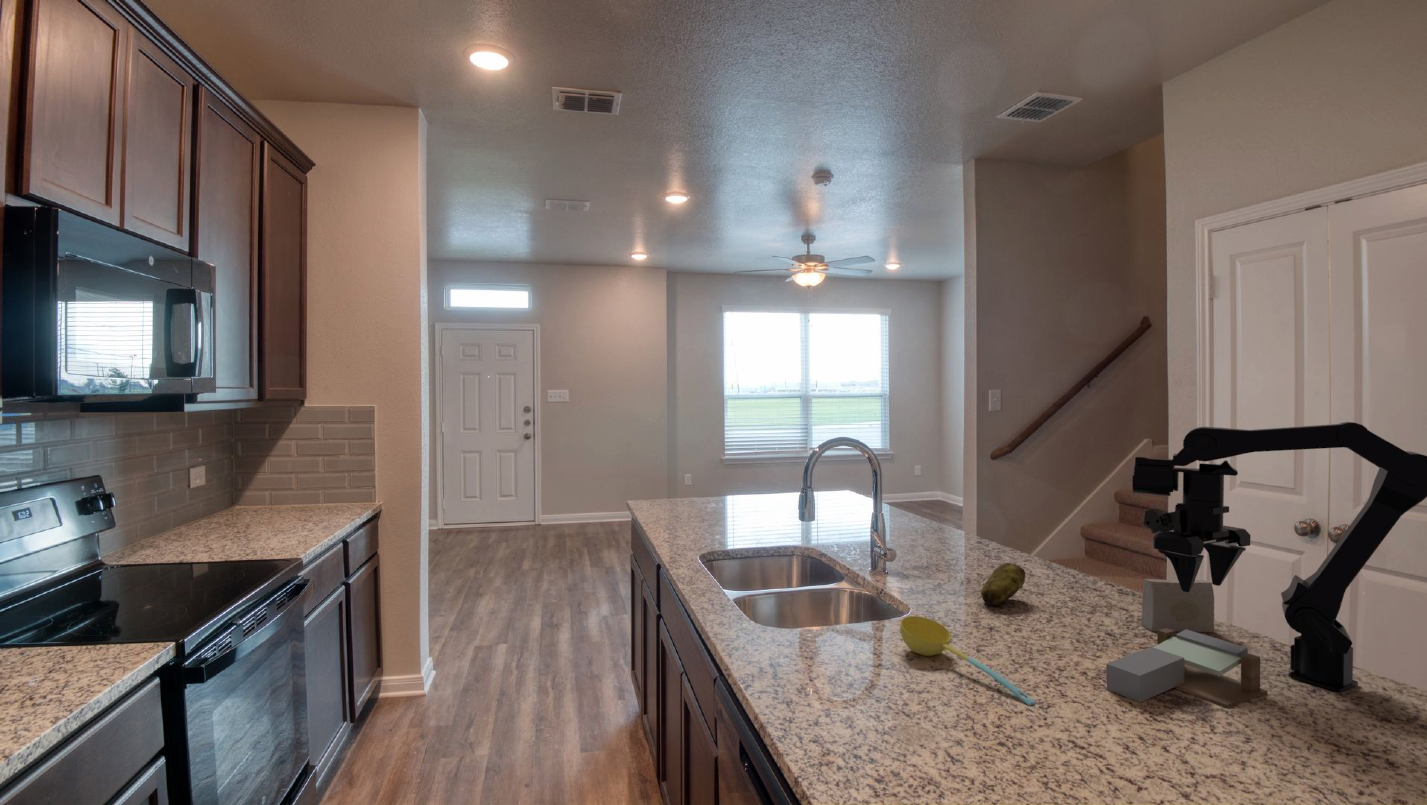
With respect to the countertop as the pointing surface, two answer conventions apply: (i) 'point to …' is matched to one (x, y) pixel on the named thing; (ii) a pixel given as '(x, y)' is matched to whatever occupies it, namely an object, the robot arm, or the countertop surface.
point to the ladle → (943, 646)
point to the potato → (1003, 583)
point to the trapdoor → (1204, 651)
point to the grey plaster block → (1177, 606)
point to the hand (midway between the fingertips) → (1201, 588)
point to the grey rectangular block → (1145, 673)
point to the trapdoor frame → (1220, 680)
